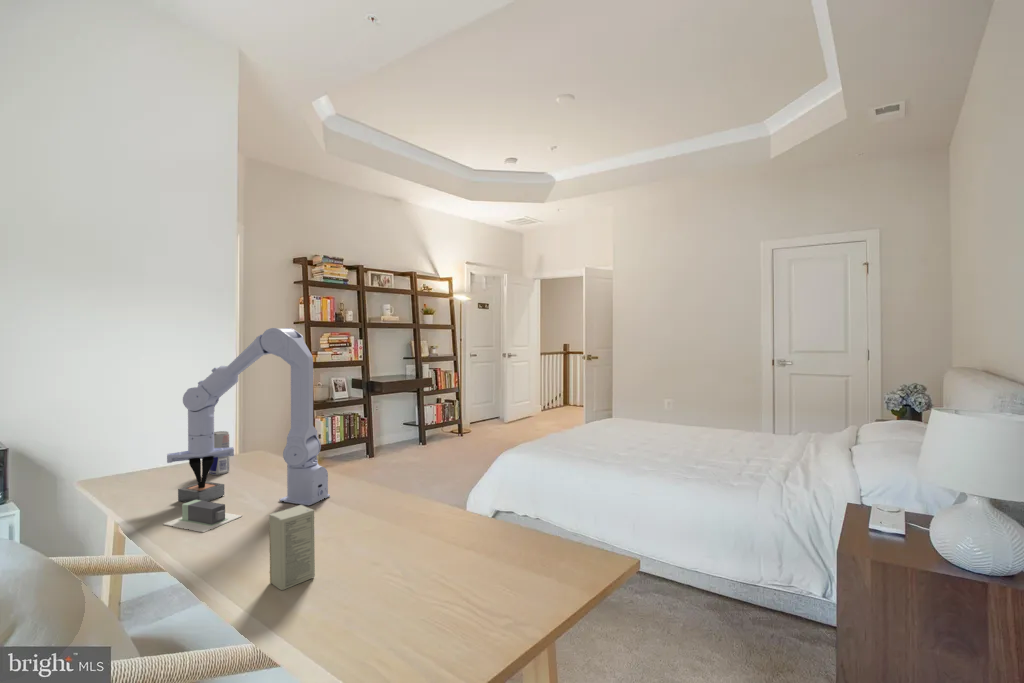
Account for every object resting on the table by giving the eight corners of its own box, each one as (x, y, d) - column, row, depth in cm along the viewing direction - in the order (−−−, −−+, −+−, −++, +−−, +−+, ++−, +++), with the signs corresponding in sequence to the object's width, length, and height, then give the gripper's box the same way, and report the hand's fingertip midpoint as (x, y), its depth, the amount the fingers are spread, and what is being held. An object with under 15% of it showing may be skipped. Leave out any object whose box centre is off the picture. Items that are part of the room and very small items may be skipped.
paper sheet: (242, 516, 120) (242, 515, 120) (203, 532, 111) (203, 531, 111) (203, 510, 124) (203, 508, 124) (163, 524, 115) (163, 523, 115)
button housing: (224, 495, 135) (224, 484, 135) (199, 504, 128) (199, 492, 128) (203, 492, 137) (203, 481, 137) (178, 500, 131) (178, 489, 130)
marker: (228, 519, 117) (228, 505, 117) (215, 525, 114) (215, 509, 114) (196, 514, 121) (195, 499, 121) (182, 519, 118) (182, 504, 118)
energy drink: (209, 471, 157) (209, 431, 157) (230, 469, 160) (229, 430, 159) (208, 476, 152) (207, 435, 152) (228, 474, 155) (228, 433, 154)
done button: (215, 493, 134) (215, 485, 134) (200, 498, 130) (200, 490, 130) (202, 491, 136) (202, 483, 135) (187, 496, 131) (187, 488, 131)
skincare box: (302, 570, 94) (302, 503, 94) (315, 578, 91) (315, 509, 91) (268, 583, 89) (267, 513, 89) (280, 591, 86) (280, 519, 86)
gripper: (232, 428, 140) (232, 478, 140) (167, 433, 132) (167, 487, 132) (234, 433, 134) (234, 485, 134) (166, 439, 126) (167, 494, 126)
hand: (201, 487), depth 133 cm, fingers closed, pressing on done button
